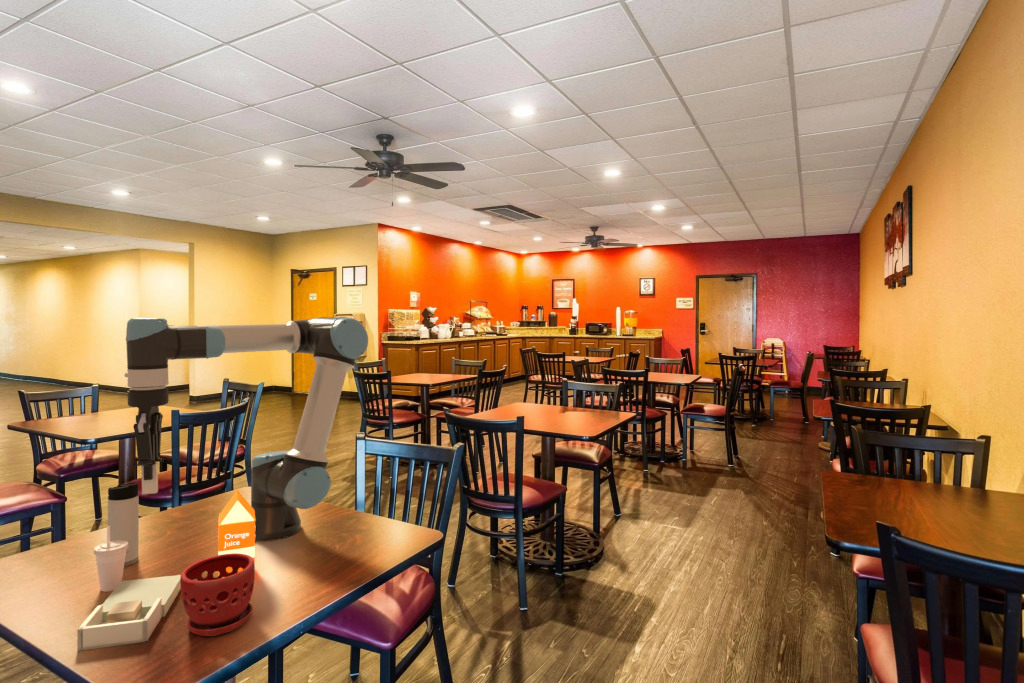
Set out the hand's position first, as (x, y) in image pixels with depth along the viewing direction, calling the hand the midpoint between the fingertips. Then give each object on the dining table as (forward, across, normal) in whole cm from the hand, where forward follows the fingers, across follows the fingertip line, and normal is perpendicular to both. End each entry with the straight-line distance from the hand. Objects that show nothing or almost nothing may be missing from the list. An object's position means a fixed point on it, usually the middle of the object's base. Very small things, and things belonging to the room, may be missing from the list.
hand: (150, 492), depth 120 cm
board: (+22, +6, 0) cm, 23 cm away
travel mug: (+23, -18, -10) cm, 31 cm away
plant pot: (+23, +20, +16) cm, 34 cm away
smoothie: (+23, -4, -9) cm, 25 cm away
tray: (+22, +17, -1) cm, 28 cm away
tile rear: (+20, +16, -1) cm, 25 cm away
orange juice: (+23, -2, +17) cm, 29 cm away
